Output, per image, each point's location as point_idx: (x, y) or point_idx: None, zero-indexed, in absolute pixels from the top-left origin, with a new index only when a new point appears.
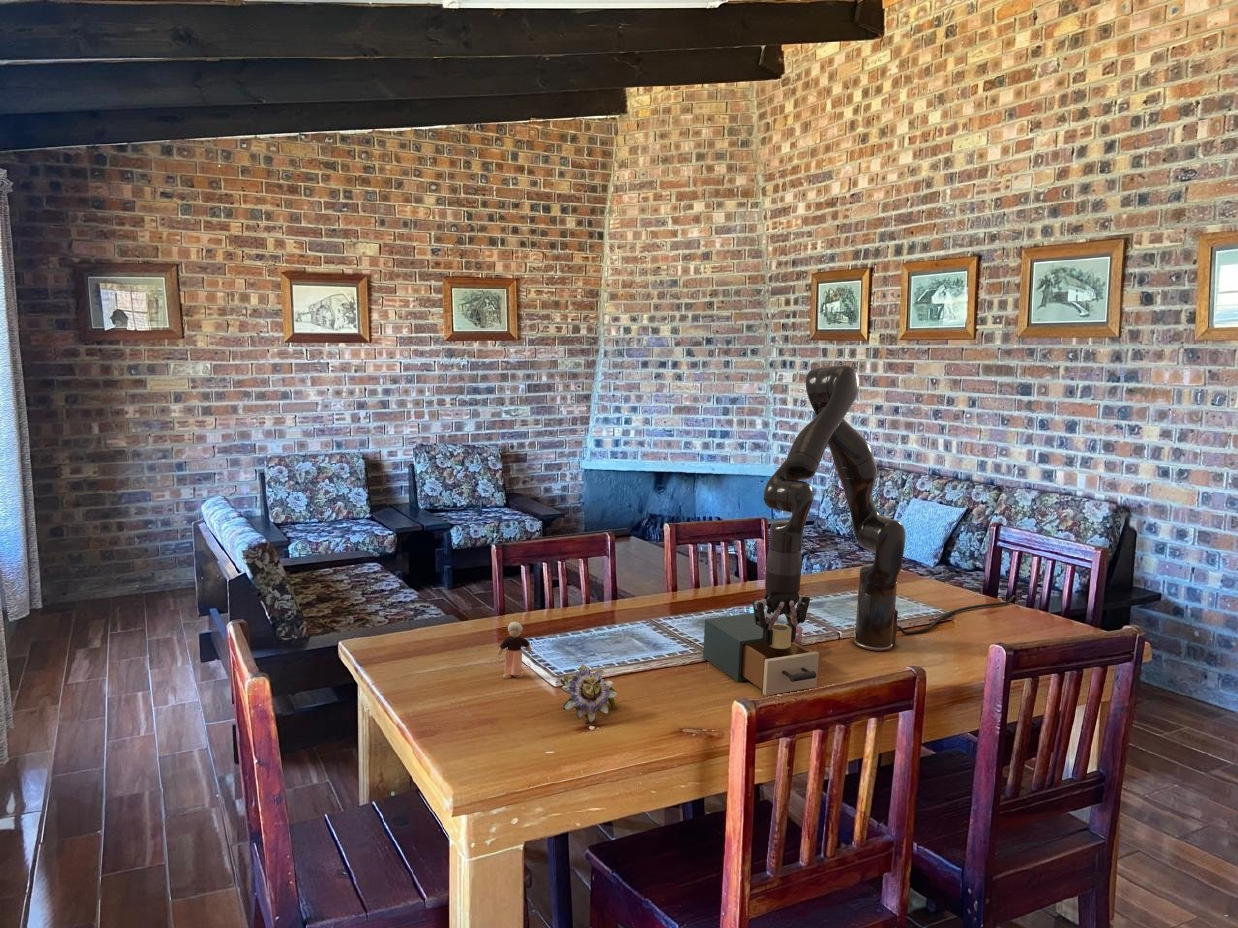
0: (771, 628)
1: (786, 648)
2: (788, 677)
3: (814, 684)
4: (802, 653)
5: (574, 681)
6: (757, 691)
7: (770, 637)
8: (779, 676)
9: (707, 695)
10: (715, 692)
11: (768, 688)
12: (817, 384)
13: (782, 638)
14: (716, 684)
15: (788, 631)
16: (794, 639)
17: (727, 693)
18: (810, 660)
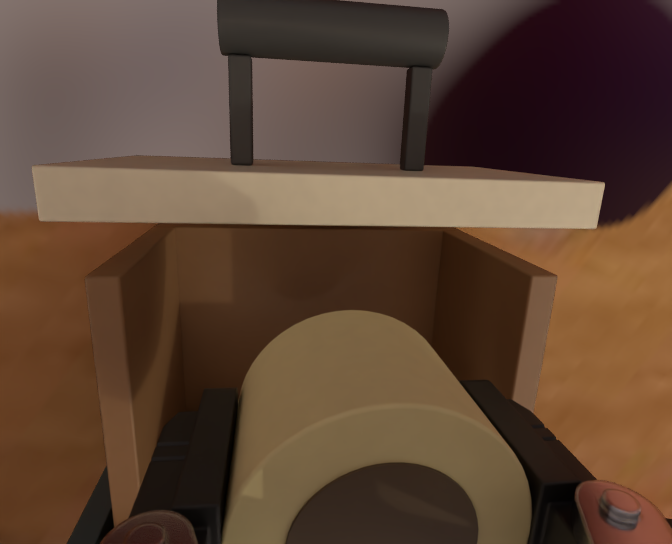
0: (586, 496)
1: None
2: (354, 166)
3: (148, 156)
4: (136, 312)
5: None
6: None
7: (518, 421)
8: (430, 169)
9: (647, 301)
10: (601, 315)
11: (475, 168)
12: None
13: (416, 362)
14: (545, 381)
15: (359, 402)
16: (180, 412)
17: (566, 289)
18: (153, 165)
